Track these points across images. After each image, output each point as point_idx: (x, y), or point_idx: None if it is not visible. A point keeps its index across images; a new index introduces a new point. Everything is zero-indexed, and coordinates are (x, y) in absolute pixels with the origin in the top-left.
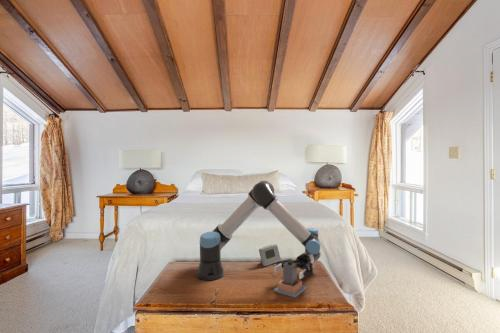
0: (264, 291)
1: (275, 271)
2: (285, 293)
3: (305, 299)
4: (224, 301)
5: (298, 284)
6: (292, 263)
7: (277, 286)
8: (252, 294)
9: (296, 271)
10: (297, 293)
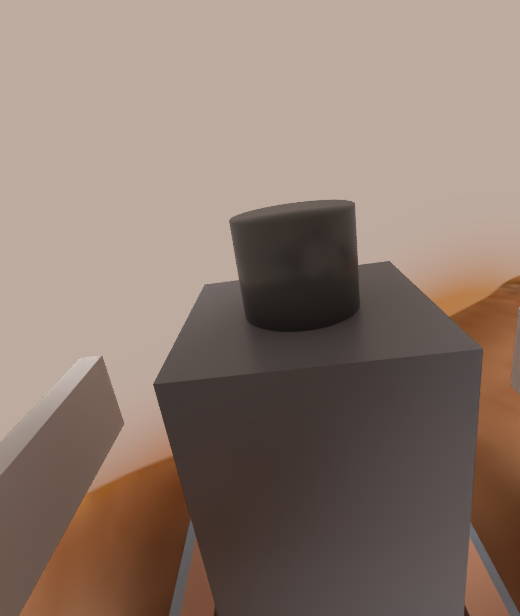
0: (503, 455)
1: (516, 366)
2: None
3: (101, 554)
4: (504, 302)
5: (184, 611)
6: (268, 340)
7: (494, 567)
8: (503, 385)
9: (204, 539)
10: (189, 560)
